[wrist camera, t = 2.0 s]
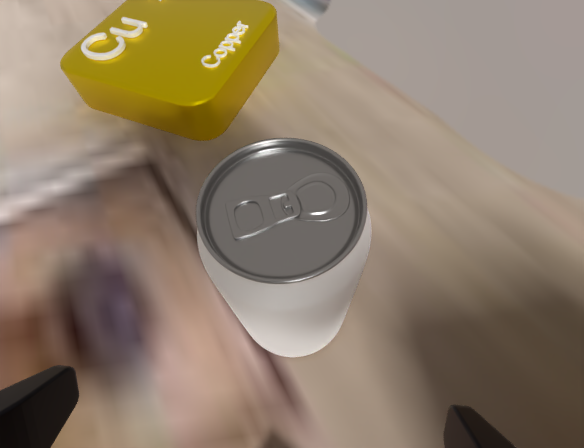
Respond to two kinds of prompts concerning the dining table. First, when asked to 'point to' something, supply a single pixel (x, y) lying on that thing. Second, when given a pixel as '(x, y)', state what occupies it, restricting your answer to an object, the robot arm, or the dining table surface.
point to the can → (285, 240)
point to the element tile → (176, 62)
